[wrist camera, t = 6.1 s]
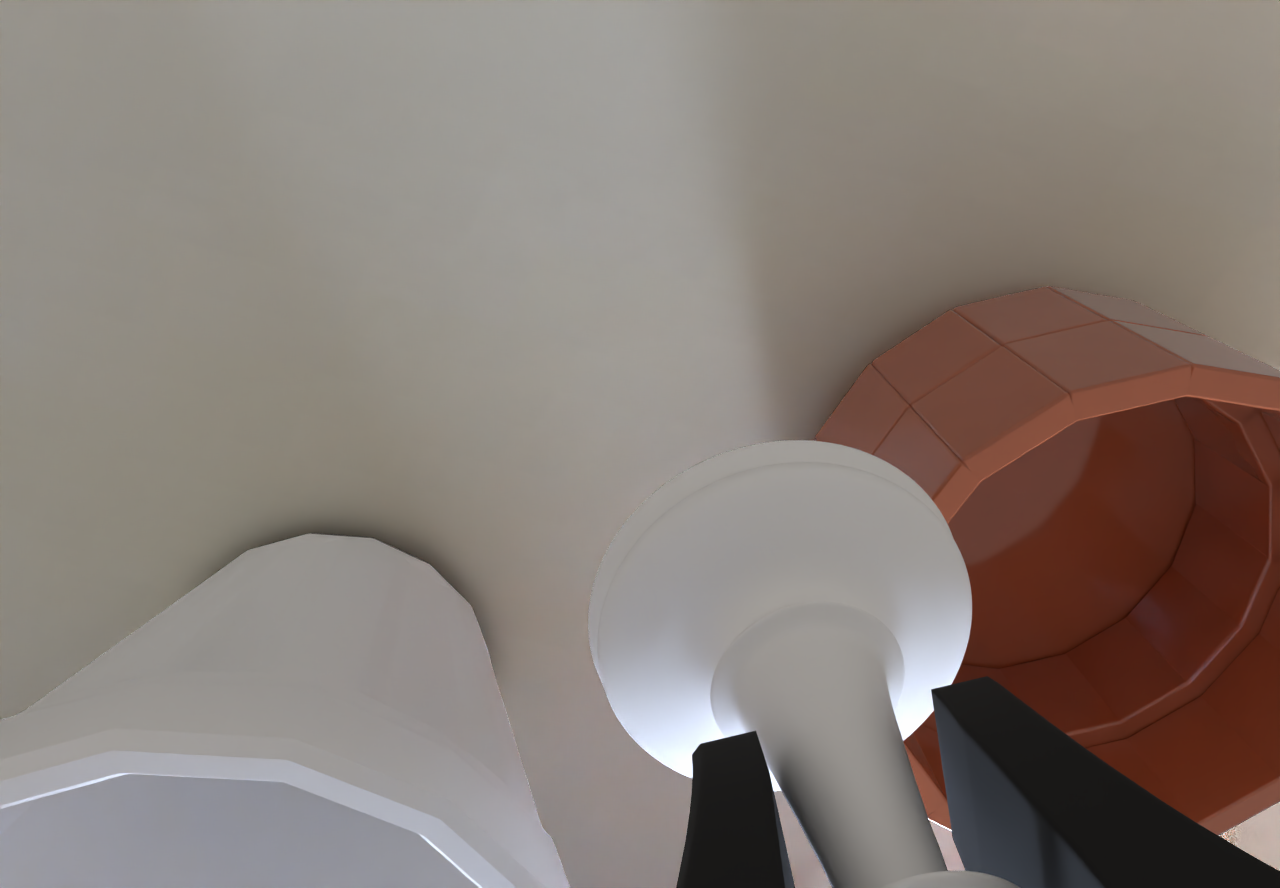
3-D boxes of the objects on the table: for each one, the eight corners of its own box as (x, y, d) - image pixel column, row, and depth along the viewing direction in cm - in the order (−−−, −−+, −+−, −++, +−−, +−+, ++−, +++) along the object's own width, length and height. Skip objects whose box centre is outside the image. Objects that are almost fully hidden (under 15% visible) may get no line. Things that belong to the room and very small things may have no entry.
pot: (824, 722, 24) (898, 914, 19) (754, 341, 20) (822, 448, 15) (1221, 632, 24) (1405, 800, 19) (1218, 234, 20) (1441, 306, 15)
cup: (506, 889, 25) (483, 1349, 16) (53, 798, 23) (-244, 1263, 14) (644, 512, 22) (706, 839, 13) (129, 372, 20) (-196, 643, 11)
